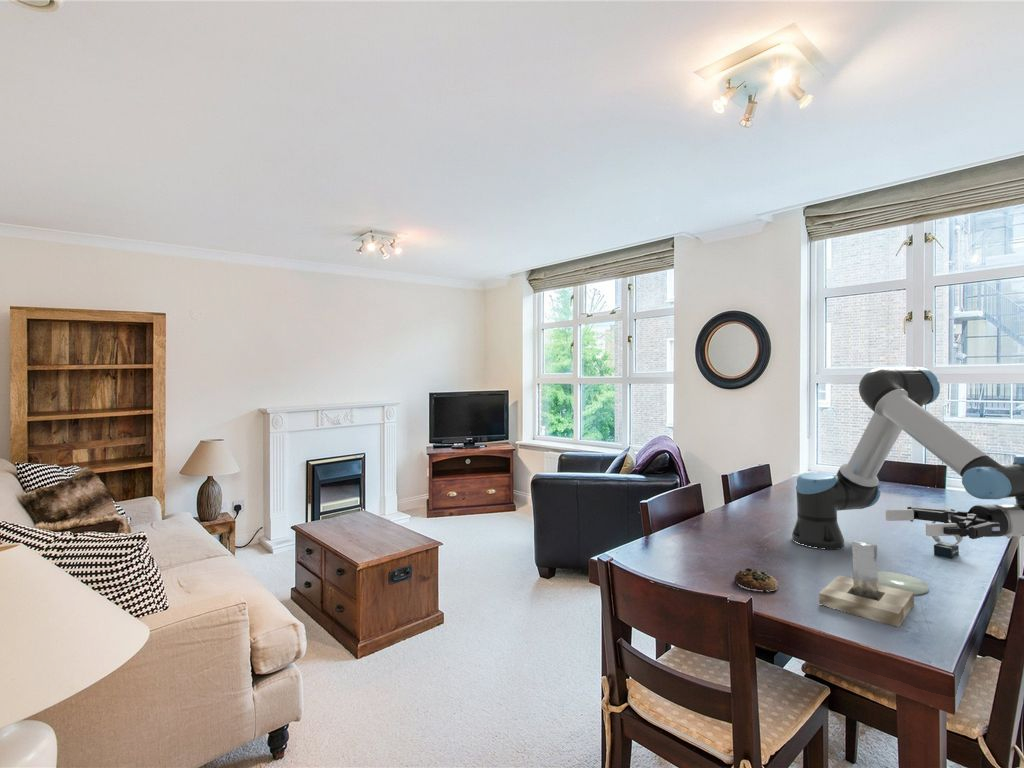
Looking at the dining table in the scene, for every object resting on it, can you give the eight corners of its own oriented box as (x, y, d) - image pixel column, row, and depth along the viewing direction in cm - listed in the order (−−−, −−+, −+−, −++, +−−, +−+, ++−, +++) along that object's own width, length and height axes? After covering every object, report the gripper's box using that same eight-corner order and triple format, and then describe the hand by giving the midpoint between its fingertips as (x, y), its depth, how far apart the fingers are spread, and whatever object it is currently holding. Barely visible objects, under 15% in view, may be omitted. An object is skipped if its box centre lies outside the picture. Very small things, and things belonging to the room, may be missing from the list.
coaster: (857, 584, 137) (857, 581, 137) (871, 570, 146) (871, 567, 146) (923, 599, 126) (923, 596, 126) (933, 583, 136) (933, 580, 136)
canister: (851, 605, 125) (849, 544, 125) (857, 598, 128) (855, 540, 128) (875, 611, 121) (874, 549, 121) (881, 604, 124) (879, 544, 124)
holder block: (819, 605, 125) (818, 593, 125) (839, 586, 136) (838, 575, 136) (899, 627, 113) (898, 613, 113) (913, 604, 124) (913, 592, 124)
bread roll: (727, 585, 138) (728, 567, 139) (743, 579, 146) (744, 562, 146) (770, 598, 130) (771, 579, 131) (784, 591, 138) (785, 573, 138)
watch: (959, 560, 152) (958, 524, 152) (927, 553, 159) (926, 518, 159) (967, 556, 154) (965, 521, 154) (934, 549, 161) (933, 515, 161)
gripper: (1048, 552, 110) (947, 554, 111) (954, 522, 135) (872, 523, 136) (1047, 518, 110) (946, 520, 111) (953, 494, 135) (871, 496, 136)
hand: (905, 522), depth 124 cm, fingers open, 13 cm apart
